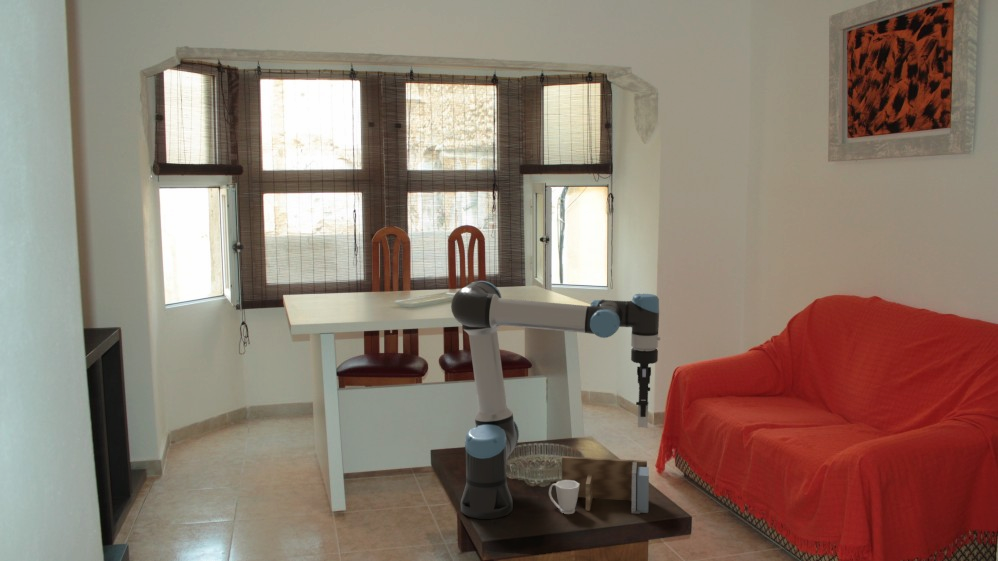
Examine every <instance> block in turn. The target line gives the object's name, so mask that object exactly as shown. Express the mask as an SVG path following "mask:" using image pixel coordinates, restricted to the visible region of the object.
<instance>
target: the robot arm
mask: <svg viewBox="0 0 998 561" xmlns="http://www.w3.org/2000/svg"><path fill="white" fill-rule="evenodd" d="M450 304H451V305H450V308H451V313H452V315H453V317H454V319H455V320H456V321H457V322H458V323H459V324H461V325H462V330H463V331H464V332H466V333H467V335H468V338H469V346H470V347H469V348H470V354H471V355H470V356H471V360H472V368H473V369H472V370H473V377H474V384H475V391H476V399H477V407H478V411H477V413H476V414H475V416H474V422H475V427H474V426H473V427H472V428H470V429H469V430H468V431H467V433H466V436H465V441H464V448H465V477H466V478H465V479H466V480H465V481H466V483H465V486H464V490H463V493H462V496H461V499H460V512H461V513H462V514H463V515H465V516H466V517H469V518H472V519H479V520H493V519H499V518H502V517H503V518H504V517H505V516H508V515H509V514H510V513H511V512H513V509H514V508H513V507H514V506H513V504H514V503H513V498H512V495H511V492H510V489H509V487H508V483H507V459H508V458H509V457H510V456H511V454H512V452H513V451H514V450H515V448H516V447H517V445H518V442H519V436H520V433H519V432H520V430H519V427H518V424H517V423H516V421H515V420H514V414H513V411H512V410H511V409H510V408H508V404H507V398H506V396H507V395H506V391H505V382H504V374H503V367H502V366H503V365H502V359H501V352H500V351H501V350H500V344H499V336H498V330H499V328H500V327H501V326H504V327H505V326H506V327H515V328H529V329H538V330H539V329H540V330H550V331H560V332H572V333H581V334H582V333H583V334H589V335H590V334H591V335H596V337H599V338H604V339H605V338H609V337H612V336H614V334H615V333H616V332H618V330H619V328H631V335H630V336H631V338H630V339H631V343H630V344H631V347H632V348H631V351H630V354H631V355H630V356H631V357H630V360H631V362H633V363H636V364H639V366H637V367H636V375H637V384H638V401H636V404H635V405H636V406H638V409H637V410H638V411H637V428H645V429H646V428H648V427H649V426H648V423H649V422H648V421H649V392H651V387H649V385H650V383H651V376H652V367H651V366H649V365H651V364H656V363H657V362H658V361H659V358H658V356H659V350H658V347H659V341H661V337H660V336H659V328H660V327H659V323H660V322H659V321H660V299H659V297H658V296H657V295H655V294H651V293H635V294H633V296H632V299H631V300H627V301H626V300H608V299H607V300H606V299H594V300H592V301H591V302H590V305H581V304H572V303H571V304H570V303H569V304H568V303H560V302H559V303H558V302H548V301H535V300H526V299H525V300H524V299H512V298H503V297H502V294H501V292H500V290H499V289H498V287H497V286H495V285H494V284H493V283H491V282H489V281H485V280H478V281H472V282H470V283H469V284H467V285H465V286H464V287H462V288H460V289H458V290H457V291H456V292H455V293H454V295H453V298H452V299H451V303H450Z"/></svg>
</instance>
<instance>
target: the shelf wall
mask: <svg viewBox="0 0 998 561" xmlns="http://www.w3.org/2000/svg"><path fill="white" fill-rule="evenodd" d="M633 462H637V472H638V467H648V461H647V460H640V459H639V460H637V459H636V460H634V459H622V458H621V459H619V458H602V457H583V456H566V455H565V456H561V481H563V480H572V481H576V482H577V483H579V484H580V485H579V492H578V498H585V499H586V481H587V476H588V474H592V499H603V500H618V501H619V500H621V501H632V465H633Z"/></svg>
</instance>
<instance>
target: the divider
mask: <svg viewBox="0 0 998 561" xmlns="http://www.w3.org/2000/svg"><path fill="white" fill-rule="evenodd" d="M592 503H593V498H592V474H588V476H587V481H586V498H585V511H591V506H592Z"/></svg>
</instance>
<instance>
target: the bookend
mask: <svg viewBox="0 0 998 561" xmlns="http://www.w3.org/2000/svg"><path fill="white" fill-rule="evenodd" d="M630 508H631V509H630V510H631V514H636V515H637V514H638V515H640V514H641V513H640V510H637V462H633V465H632V500H631V507H630Z"/></svg>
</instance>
